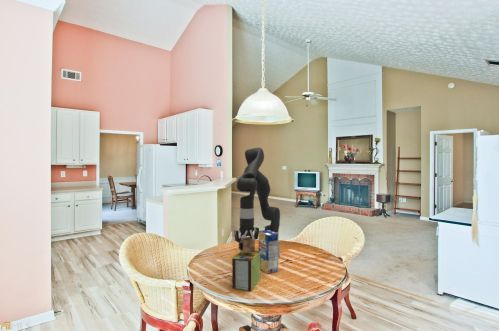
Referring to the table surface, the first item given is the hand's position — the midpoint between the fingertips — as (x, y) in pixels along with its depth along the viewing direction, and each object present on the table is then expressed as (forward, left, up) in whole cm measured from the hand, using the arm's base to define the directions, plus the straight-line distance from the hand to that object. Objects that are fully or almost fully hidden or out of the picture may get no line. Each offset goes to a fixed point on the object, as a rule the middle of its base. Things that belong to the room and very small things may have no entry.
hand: (246, 248), depth 147 cm
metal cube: (0, 0, -1) cm, 1 cm away
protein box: (0, 0, -19) cm, 19 cm away
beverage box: (-20, -10, -19) cm, 29 cm away
